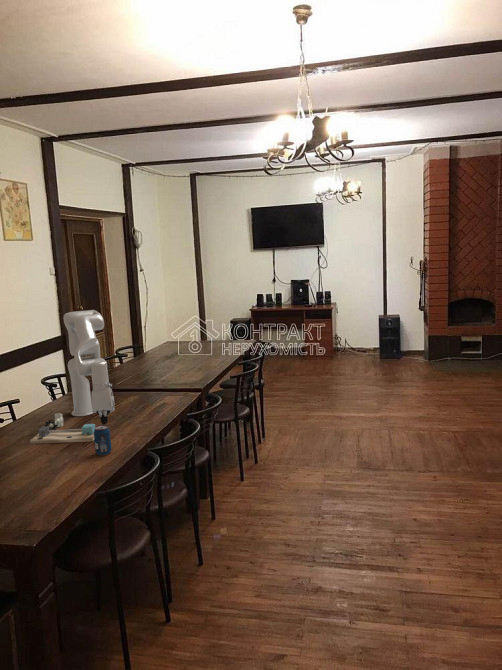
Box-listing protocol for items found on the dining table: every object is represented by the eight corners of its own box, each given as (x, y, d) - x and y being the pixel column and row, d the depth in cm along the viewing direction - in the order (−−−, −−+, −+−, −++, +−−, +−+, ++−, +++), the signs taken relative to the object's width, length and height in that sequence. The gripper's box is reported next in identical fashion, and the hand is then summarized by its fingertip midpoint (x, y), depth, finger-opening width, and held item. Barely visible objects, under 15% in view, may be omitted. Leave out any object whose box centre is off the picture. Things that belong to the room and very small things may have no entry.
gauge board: (40, 435, 266) (39, 425, 266) (100, 432, 265) (99, 423, 265) (30, 443, 254) (28, 433, 254) (92, 441, 254) (91, 431, 253)
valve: (55, 424, 282) (44, 432, 271) (54, 412, 281) (43, 420, 270) (67, 424, 282) (57, 432, 270) (66, 412, 281) (55, 419, 269)
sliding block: (85, 431, 263) (84, 424, 263) (95, 430, 263) (95, 423, 263) (80, 436, 256) (79, 429, 255) (90, 436, 256) (89, 429, 255)
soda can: (105, 449, 242) (103, 423, 241) (115, 452, 238) (112, 426, 236) (92, 454, 237) (89, 428, 235) (101, 457, 233) (99, 430, 231)
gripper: (118, 384, 261) (122, 420, 263) (88, 385, 261) (91, 422, 263) (114, 387, 253) (118, 425, 256) (83, 389, 253) (87, 426, 256)
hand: (104, 423), depth 260 cm, fingers closed
